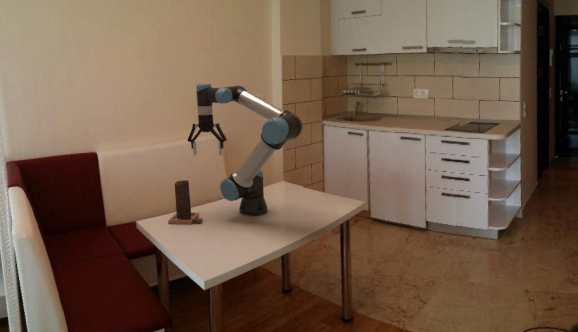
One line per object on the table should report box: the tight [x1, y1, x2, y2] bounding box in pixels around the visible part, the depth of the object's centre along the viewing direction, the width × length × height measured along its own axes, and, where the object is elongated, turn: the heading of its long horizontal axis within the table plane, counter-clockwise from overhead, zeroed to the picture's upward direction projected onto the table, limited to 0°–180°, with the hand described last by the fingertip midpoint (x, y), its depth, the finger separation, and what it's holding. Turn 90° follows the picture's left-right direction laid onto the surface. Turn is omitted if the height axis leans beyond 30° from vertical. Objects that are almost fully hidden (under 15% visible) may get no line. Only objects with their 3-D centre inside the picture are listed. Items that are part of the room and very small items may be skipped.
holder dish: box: [167, 211, 200, 225], centre depth 266 cm, size 12×13×2 cm
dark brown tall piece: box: [174, 179, 192, 219], centre depth 264 cm, size 8×7×20 cm
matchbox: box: [191, 217, 203, 225], centre depth 261 cm, size 5×3×2 cm, turn 82°
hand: (207, 154), depth 269 cm, fingers open, 13 cm apart
